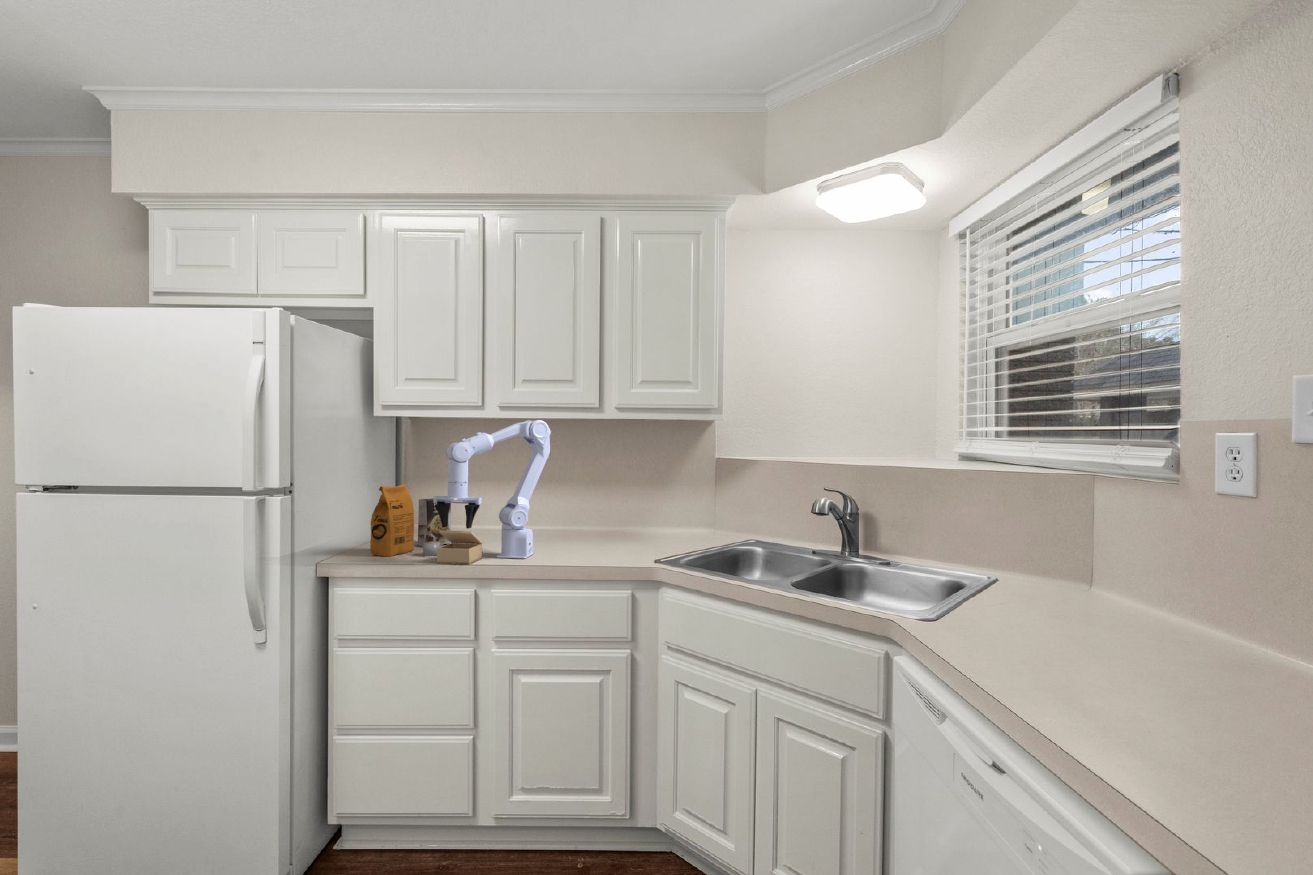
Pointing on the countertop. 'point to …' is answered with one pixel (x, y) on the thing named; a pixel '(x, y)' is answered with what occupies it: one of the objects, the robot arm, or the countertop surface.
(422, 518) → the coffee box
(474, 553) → the box
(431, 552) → the grey rounded cylinder
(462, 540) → the lid
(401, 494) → the coffee package
